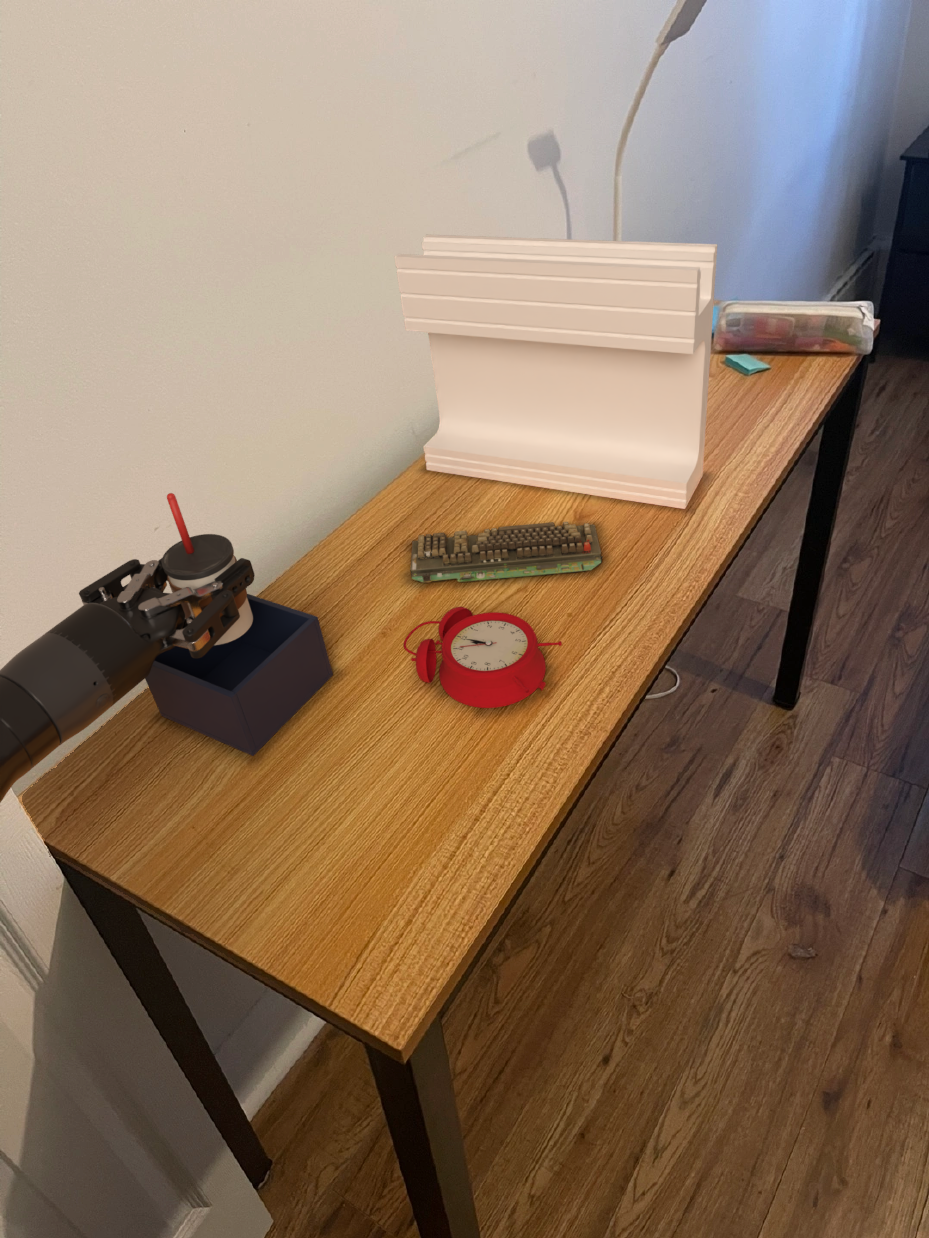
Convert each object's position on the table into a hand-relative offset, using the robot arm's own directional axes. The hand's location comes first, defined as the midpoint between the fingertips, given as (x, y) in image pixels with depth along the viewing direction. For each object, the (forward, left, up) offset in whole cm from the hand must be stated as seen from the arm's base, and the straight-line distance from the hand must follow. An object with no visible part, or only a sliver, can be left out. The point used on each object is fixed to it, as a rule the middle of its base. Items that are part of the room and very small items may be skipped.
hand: (221, 558), depth 81 cm
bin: (-1, +1, -16) cm, 16 cm away
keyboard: (+29, -11, -16) cm, 35 cm away
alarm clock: (+12, -18, -16) cm, 27 cm away
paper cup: (-2, 0, -6) cm, 6 cm away
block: (+49, -8, -16) cm, 52 cm away
